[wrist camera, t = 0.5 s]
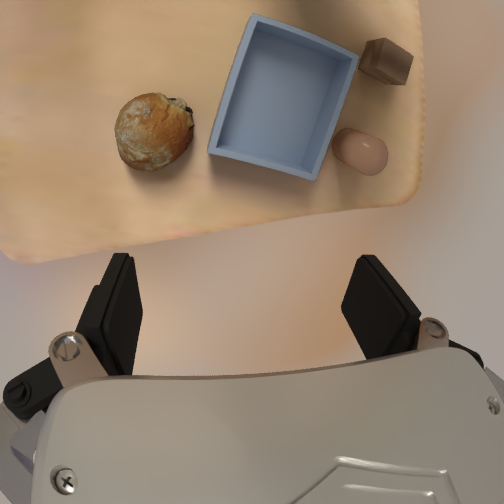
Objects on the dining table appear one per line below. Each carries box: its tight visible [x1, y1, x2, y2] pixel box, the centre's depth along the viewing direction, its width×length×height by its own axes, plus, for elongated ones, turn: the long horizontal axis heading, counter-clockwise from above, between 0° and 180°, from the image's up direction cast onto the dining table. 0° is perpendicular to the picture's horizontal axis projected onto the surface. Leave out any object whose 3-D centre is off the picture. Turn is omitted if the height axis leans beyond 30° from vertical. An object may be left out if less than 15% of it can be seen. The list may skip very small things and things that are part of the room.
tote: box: [207, 13, 360, 181], centre depth 30 cm, size 18×14×5 cm
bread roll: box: [114, 93, 194, 171], centre depth 31 cm, size 10×10×8 cm
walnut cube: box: [358, 38, 414, 85], centre depth 28 cm, size 5×5×5 cm
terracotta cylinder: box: [332, 129, 388, 176], centre depth 34 cm, size 5×5×7 cm
